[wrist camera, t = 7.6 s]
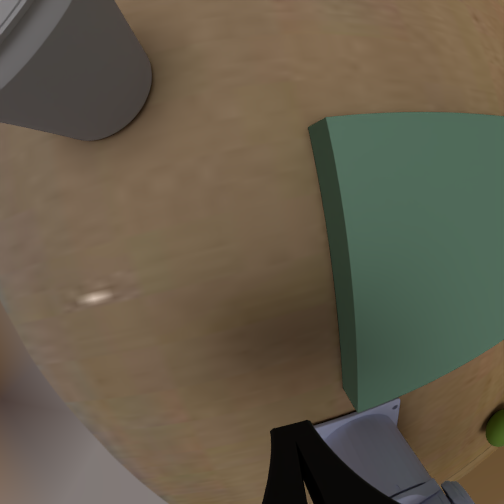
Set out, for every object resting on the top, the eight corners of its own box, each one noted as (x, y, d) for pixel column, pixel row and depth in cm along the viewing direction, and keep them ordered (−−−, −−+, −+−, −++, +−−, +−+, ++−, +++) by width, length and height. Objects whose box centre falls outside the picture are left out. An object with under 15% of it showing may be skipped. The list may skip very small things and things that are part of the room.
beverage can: (162, 39, 14) (104, -107, 2) (148, 141, 15) (16, 75, 4) (68, 51, 13) (-46, -35, 1) (51, 146, 14) (-108, 131, 3)
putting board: (530, 296, 22) (548, 305, 19) (342, 388, 20) (357, 413, 17) (528, 124, 17) (550, 123, 14) (308, 127, 16) (325, 117, 13)
